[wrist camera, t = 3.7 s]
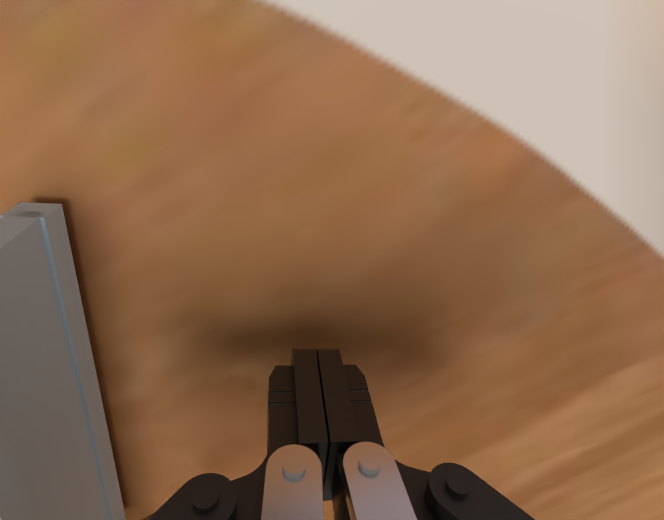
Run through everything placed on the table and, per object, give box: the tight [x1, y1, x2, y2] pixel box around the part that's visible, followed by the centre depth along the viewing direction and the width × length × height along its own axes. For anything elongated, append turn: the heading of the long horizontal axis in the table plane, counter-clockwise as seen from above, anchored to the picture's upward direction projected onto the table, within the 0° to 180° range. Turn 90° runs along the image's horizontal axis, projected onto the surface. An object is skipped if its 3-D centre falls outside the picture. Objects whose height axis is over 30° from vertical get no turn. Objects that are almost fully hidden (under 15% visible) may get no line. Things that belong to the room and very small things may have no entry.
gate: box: [0, 202, 126, 520], centre depth 12 cm, size 14×1×6 cm, turn 175°
